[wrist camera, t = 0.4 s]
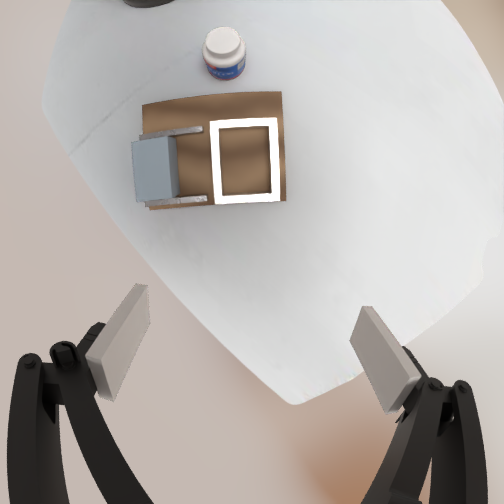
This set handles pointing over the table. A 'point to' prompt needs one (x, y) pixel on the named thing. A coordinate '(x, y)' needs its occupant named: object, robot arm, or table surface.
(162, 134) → the rails
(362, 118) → the table surface
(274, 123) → the socket
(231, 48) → the pill bottle
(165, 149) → the block
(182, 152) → the board
